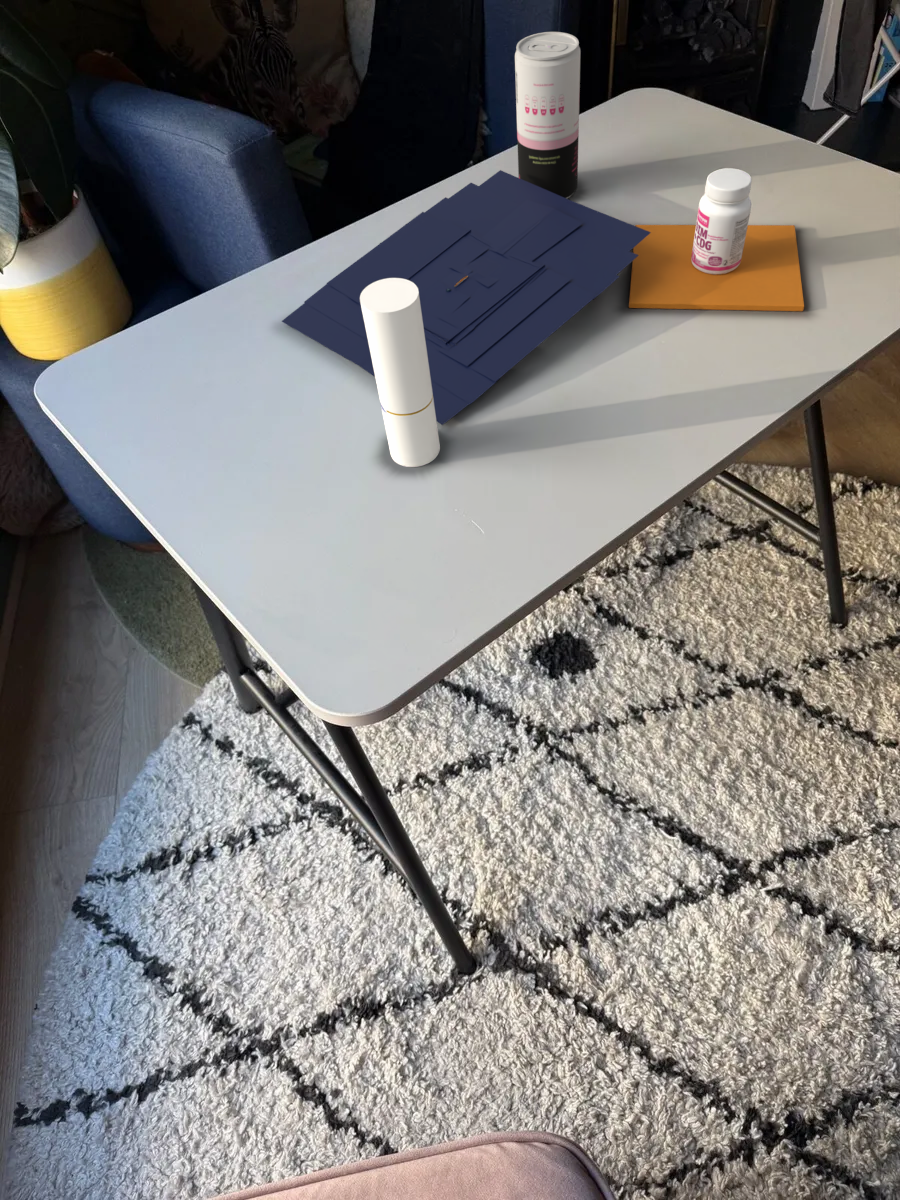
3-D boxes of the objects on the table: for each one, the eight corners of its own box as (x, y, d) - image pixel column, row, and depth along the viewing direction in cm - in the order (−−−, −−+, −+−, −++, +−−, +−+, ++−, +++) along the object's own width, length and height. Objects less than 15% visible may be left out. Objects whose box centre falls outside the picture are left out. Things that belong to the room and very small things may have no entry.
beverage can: (528, 174, 102) (525, 29, 90) (583, 179, 100) (587, 32, 88) (511, 203, 98) (506, 56, 86) (568, 208, 96) (571, 59, 84)
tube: (450, 446, 75) (430, 290, 63) (415, 474, 73) (388, 319, 61) (415, 425, 77) (389, 271, 65) (380, 452, 75) (347, 298, 63)
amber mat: (793, 230, 90) (794, 224, 89) (803, 311, 81) (804, 306, 81) (634, 229, 92) (635, 224, 92) (628, 308, 84) (629, 302, 84)
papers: (666, 263, 86) (667, 230, 83) (450, 448, 78) (442, 419, 75) (491, 188, 98) (486, 157, 95) (288, 341, 90) (276, 312, 87)
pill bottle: (681, 266, 87) (692, 182, 80) (707, 244, 89) (719, 160, 82) (724, 281, 84) (739, 196, 78) (749, 258, 86) (766, 173, 80)
